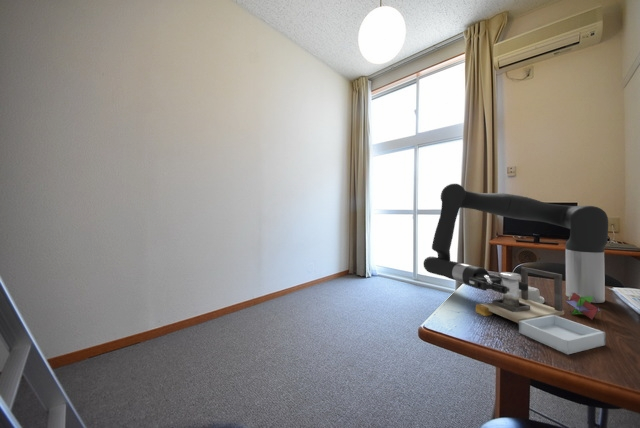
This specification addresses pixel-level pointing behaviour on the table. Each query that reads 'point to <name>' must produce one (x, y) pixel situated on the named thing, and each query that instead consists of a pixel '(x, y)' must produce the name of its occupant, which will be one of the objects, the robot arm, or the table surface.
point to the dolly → (526, 301)
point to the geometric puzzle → (582, 305)
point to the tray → (562, 333)
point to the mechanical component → (533, 295)
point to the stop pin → (511, 288)
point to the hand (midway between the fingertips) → (517, 289)
